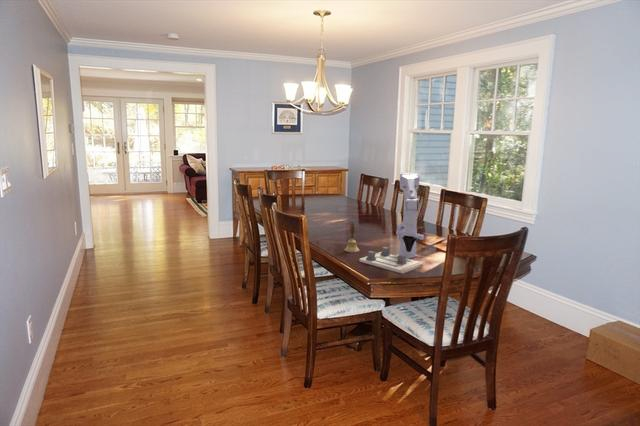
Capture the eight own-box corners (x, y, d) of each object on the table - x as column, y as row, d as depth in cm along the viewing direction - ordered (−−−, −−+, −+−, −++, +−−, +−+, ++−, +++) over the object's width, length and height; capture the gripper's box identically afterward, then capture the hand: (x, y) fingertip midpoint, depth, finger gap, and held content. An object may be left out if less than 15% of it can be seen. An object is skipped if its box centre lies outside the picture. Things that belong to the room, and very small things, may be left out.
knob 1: (370, 257, 226) (371, 250, 226) (376, 259, 224) (376, 251, 223) (365, 259, 224) (366, 251, 223) (371, 260, 221) (371, 253, 220)
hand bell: (343, 252, 242) (344, 223, 239) (345, 248, 250) (346, 220, 247) (358, 252, 241) (359, 224, 238) (359, 248, 249) (360, 221, 246)
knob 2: (384, 253, 235) (385, 246, 234) (390, 254, 232) (390, 247, 232) (380, 254, 232) (380, 247, 231) (385, 256, 230) (386, 249, 229)
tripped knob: (400, 261, 221) (401, 254, 220) (406, 263, 219) (407, 255, 218) (396, 263, 218) (396, 255, 218) (402, 264, 216) (402, 257, 215)
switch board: (380, 254, 238) (380, 251, 238) (423, 265, 220) (423, 262, 220) (359, 261, 225) (359, 258, 225) (402, 273, 208) (402, 270, 207)
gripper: (393, 222, 214) (391, 249, 217) (419, 227, 204) (417, 256, 207) (401, 220, 219) (399, 247, 222) (427, 225, 209) (425, 253, 212)
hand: (408, 251), depth 214 cm, fingers closed
